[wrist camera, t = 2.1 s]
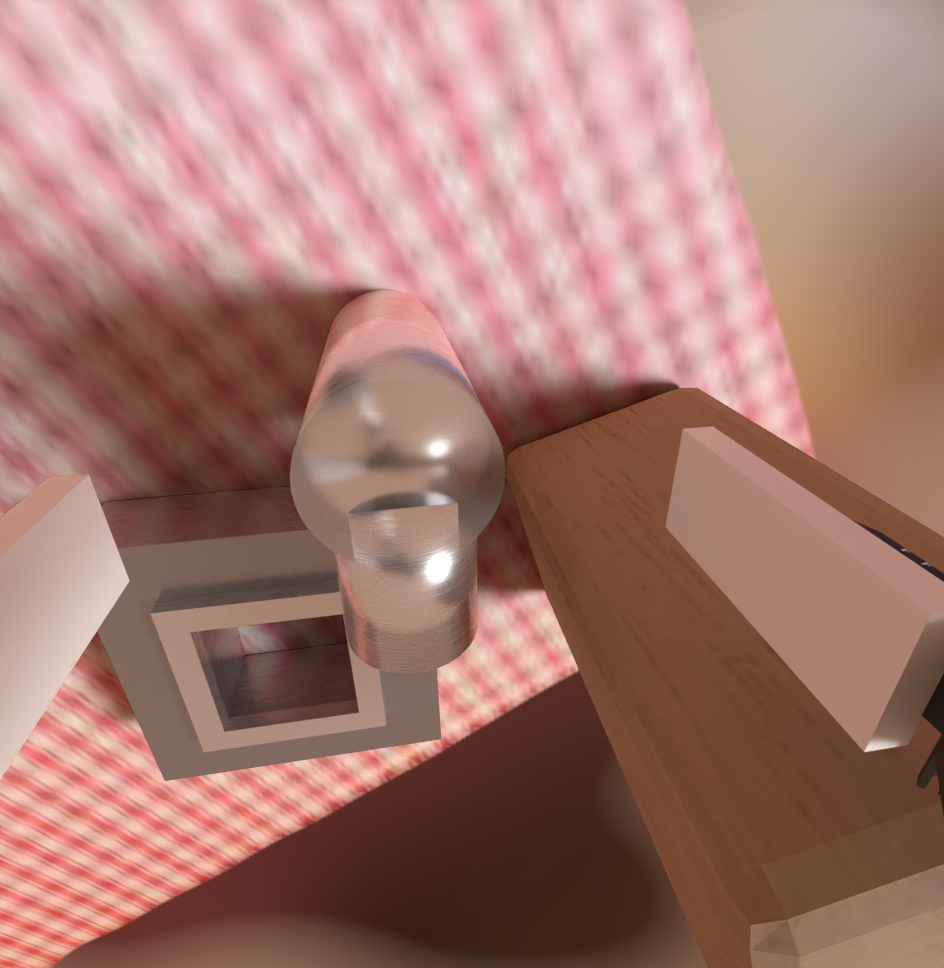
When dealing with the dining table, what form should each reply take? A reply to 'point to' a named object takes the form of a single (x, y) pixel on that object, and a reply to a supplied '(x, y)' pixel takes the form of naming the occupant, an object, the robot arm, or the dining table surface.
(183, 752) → the duct socket
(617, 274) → the dining table surface
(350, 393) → the elbow
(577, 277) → the dining table surface
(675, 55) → the dining table surface
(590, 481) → the block
